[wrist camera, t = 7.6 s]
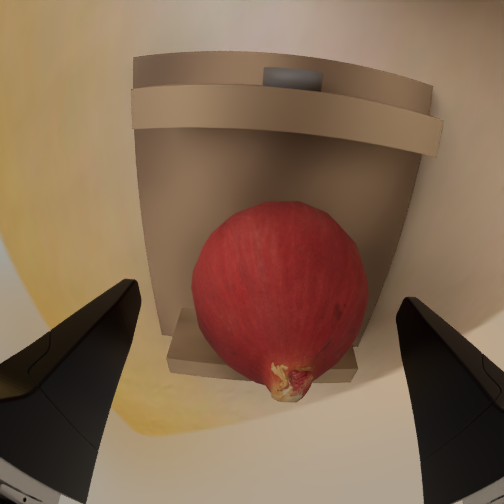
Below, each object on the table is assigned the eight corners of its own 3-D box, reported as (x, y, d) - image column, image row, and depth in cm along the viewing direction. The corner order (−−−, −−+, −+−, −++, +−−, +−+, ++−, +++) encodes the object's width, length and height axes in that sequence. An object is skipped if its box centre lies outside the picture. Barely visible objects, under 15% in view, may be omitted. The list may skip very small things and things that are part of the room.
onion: (349, 261, 14) (406, 411, 7) (240, 298, 15) (236, 451, 9) (314, 149, 11) (407, 281, 4) (182, 202, 12) (120, 365, 6)
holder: (422, 84, 10) (483, 96, 6) (354, 334, 18) (368, 393, 14) (143, 58, 10) (87, 55, 6) (166, 323, 18) (147, 381, 14)
